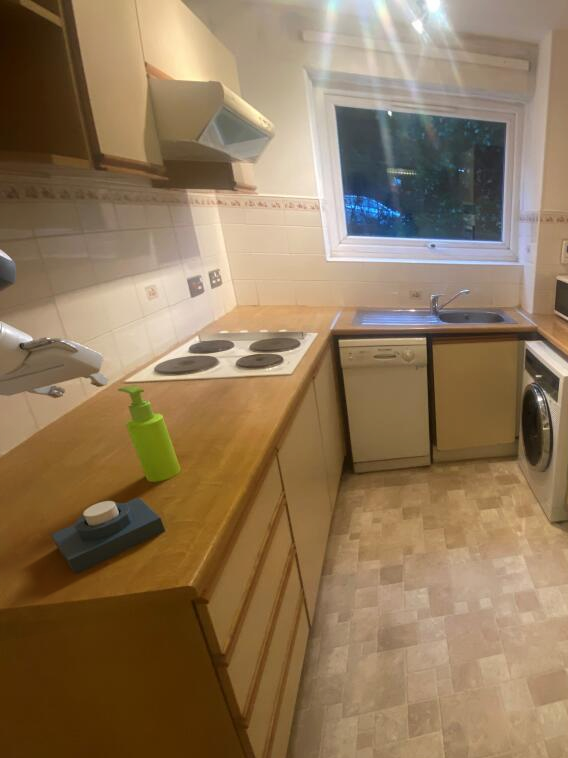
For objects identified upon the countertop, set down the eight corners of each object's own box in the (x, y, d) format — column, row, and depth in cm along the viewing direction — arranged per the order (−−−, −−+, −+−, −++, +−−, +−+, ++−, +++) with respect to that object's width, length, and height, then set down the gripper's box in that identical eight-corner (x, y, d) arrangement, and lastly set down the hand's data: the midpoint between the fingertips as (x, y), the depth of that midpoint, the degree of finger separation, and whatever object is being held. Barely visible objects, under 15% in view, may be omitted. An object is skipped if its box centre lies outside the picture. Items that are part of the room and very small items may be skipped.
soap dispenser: (167, 462, 97) (138, 380, 89) (186, 470, 94) (158, 385, 87) (137, 476, 92) (104, 390, 84) (157, 484, 90) (124, 396, 82)
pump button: (92, 529, 71) (87, 519, 70) (84, 520, 73) (79, 510, 72) (122, 516, 74) (118, 506, 73) (114, 507, 76) (110, 497, 75)
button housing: (75, 574, 68) (63, 550, 66) (57, 548, 73) (45, 524, 71) (165, 531, 77) (156, 508, 75) (144, 510, 82) (135, 488, 80)
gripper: (59, 321, 73) (135, 362, 85) (-47, 349, 75) (42, 386, 87) (45, 351, 70) (126, 390, 82) (-65, 380, 71) (30, 414, 83)
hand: (82, 388), depth 84 cm, fingers open, 8 cm apart
